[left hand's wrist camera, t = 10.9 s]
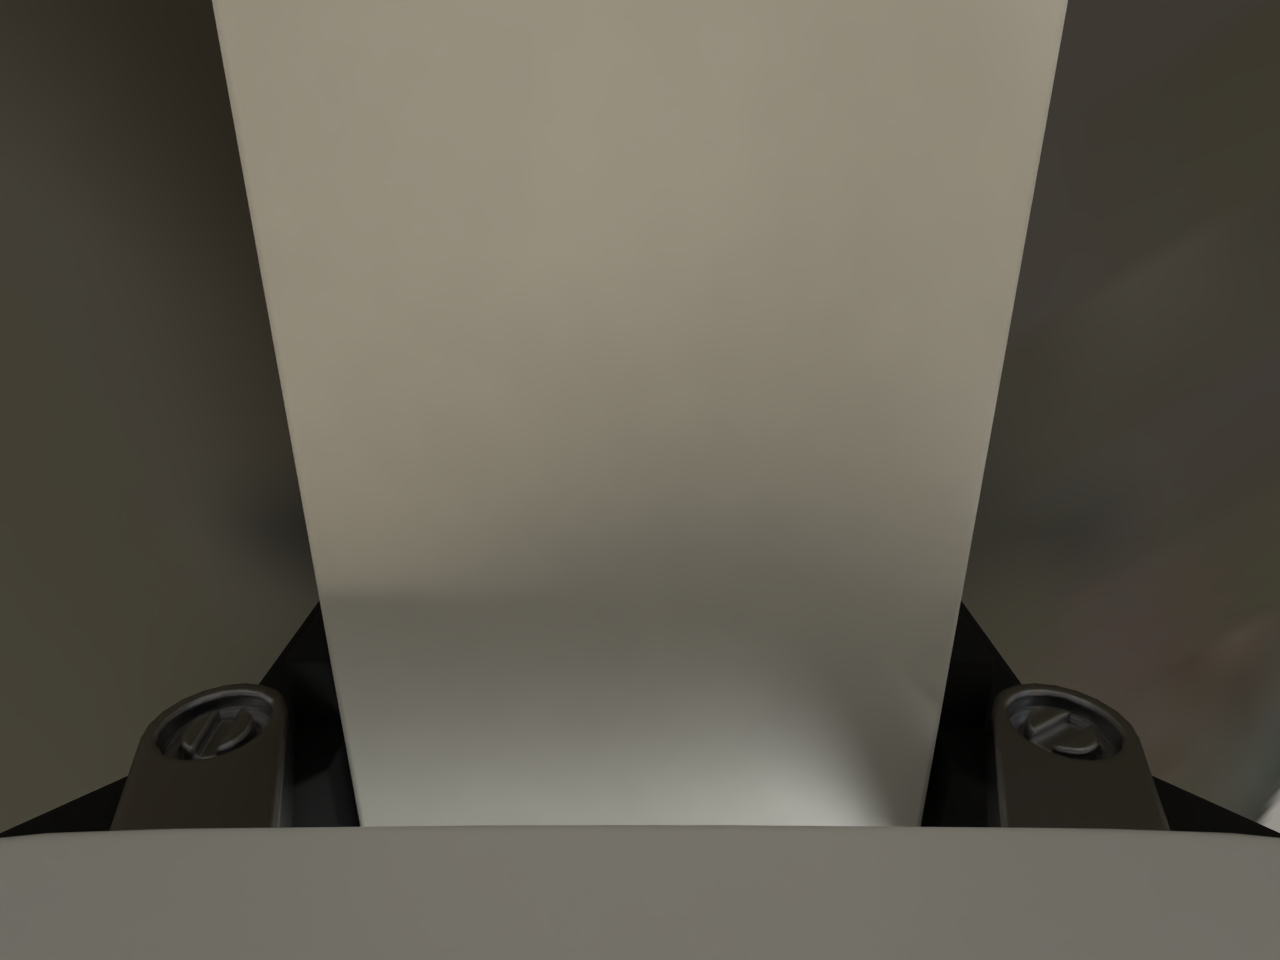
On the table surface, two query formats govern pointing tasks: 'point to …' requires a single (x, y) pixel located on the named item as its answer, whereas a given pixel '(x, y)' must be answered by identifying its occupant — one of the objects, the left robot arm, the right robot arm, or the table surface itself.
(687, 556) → the post
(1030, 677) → the table surface
